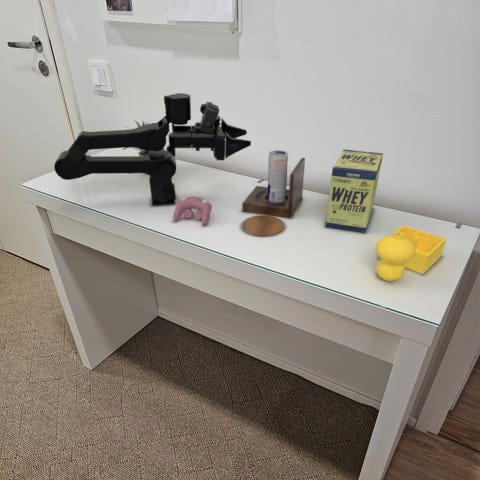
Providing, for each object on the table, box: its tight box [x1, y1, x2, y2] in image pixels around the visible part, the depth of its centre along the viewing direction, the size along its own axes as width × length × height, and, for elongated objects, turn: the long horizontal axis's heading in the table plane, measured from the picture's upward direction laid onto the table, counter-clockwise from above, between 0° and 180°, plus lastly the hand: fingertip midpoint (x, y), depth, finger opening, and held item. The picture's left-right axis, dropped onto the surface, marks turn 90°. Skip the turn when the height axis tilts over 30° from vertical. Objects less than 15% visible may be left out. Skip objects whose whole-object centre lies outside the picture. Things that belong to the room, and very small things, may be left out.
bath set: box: [375, 224, 447, 282], centre depth 95 cm, size 20×10×11 cm, turn 138°
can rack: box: [242, 185, 302, 219], centre depth 124 cm, size 14×13×2 cm
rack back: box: [288, 157, 306, 219], centre depth 119 cm, size 1×13×12 cm, turn 161°
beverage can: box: [267, 149, 289, 202], centre depth 120 cm, size 5×5×15 cm
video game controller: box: [172, 196, 213, 227], centre depth 117 cm, size 10×5×7 cm, turn 71°
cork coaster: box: [241, 214, 285, 237], centre depth 114 cm, size 11×11×1 cm
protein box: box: [325, 149, 384, 234], centre depth 113 cm, size 10×16×16 cm
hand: (248, 137), depth 120 cm, fingers open, 9 cm apart
